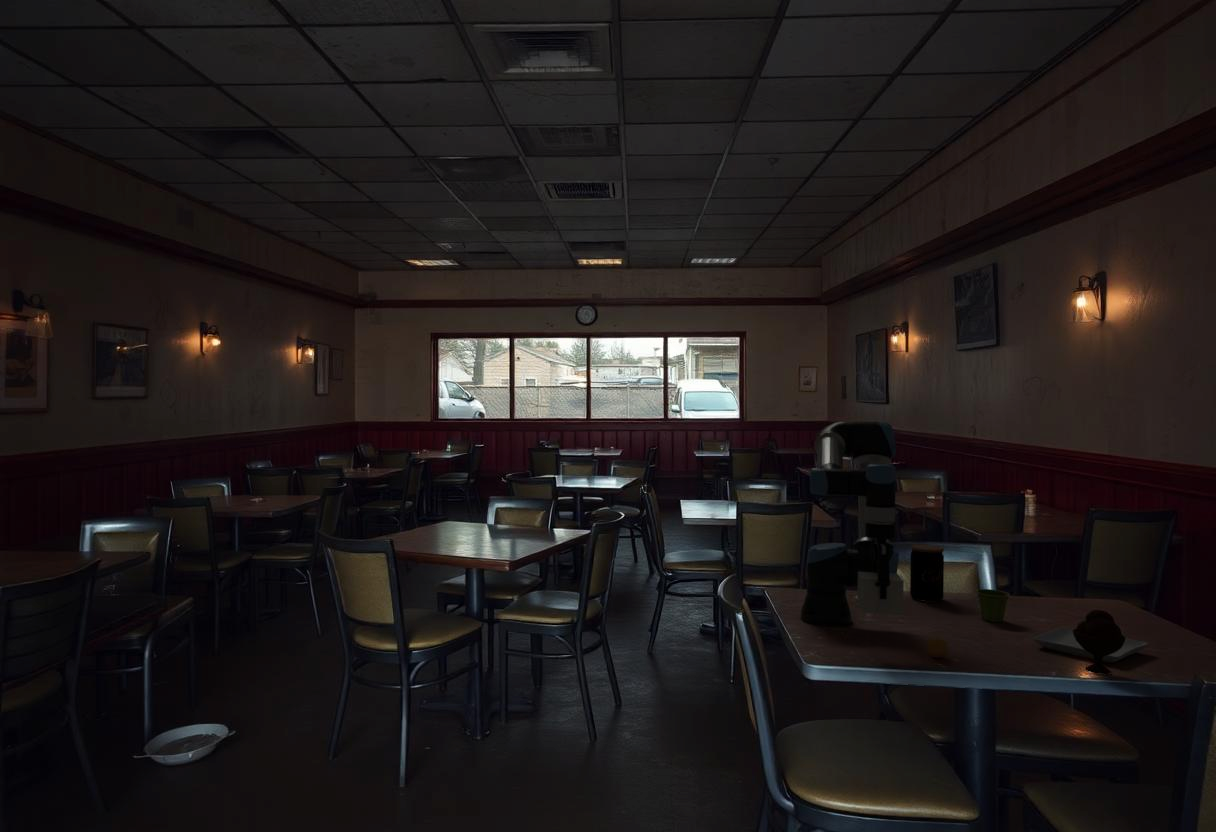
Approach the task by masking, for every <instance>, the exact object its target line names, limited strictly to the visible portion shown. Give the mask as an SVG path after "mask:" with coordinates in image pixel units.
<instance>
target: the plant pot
mask: <svg viewBox="0 0 1216 832" xmlns="http://www.w3.org/2000/svg"><path fill="white" fill-rule="evenodd" d="M975 593H977V597H978V601H979V602H978V603H979V609H980V617H981V620H983V621H988V622H990V621H991V623H1001V622H1002V621H1003V622H1004V619H1005V613H1006V607H1007V606H1006V605H1007V601H1008V600H1009V597H1010V596H1011V594H1010V593H1009V592H1006V591H1002V590H999V589H998V590H997V589H989V588H987V589H986V588H982V589H981V588H979V589H977V590H976V591H975Z"/></svg>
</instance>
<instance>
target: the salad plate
mask: <svg viewBox="0 0 1216 832" xmlns="http://www.w3.org/2000/svg"><path fill="white" fill-rule="evenodd" d="M1073 629H1076V628H1074V627H1069V626H1064V627H1063V626H1062V627H1060V628H1056V629H1053V630H1051V631H1047V632H1044V633H1042V634H1039V635H1036V636H1034V637H1033V636H1032V641H1034V643H1036V644H1038V645H1039V646H1041V647H1043V648H1045V649H1048V650H1051V649H1052V651H1054V650H1056V651H1055V652H1059V651H1061V652H1060V653H1063V652H1065V653H1064V654H1067V653H1069V654H1068V655H1071V654H1073V655H1072V656H1075V655H1078V656H1077V657H1080V656H1082V657H1081V658H1084V657H1087V658H1086V659H1088V658H1091V659H1090V660H1093V659H1094V656H1093V654H1091V653H1089V652H1087V651H1086V650H1085V649H1083V648H1082V647H1081V645H1080V644H1079V643H1078V642H1077V641H1076V639H1075V637H1074V634H1073ZM1147 646H1149V643H1148V642H1147V641H1140V640H1135V639H1130V638H1127V637H1125V642H1124V644H1123V646H1122V648H1121V649H1119V650H1118V651H1116V652H1115V653H1112V654H1110V655H1107V656H1104V657H1103V659H1102V661H1105V662H1104V663H1115V662H1118V661H1119V660H1121V659H1124V658H1126V657H1128V656H1130V655H1131V656H1132V655H1133V654H1136V653H1138V652H1140V651H1142V650H1144V649H1145V648H1147Z"/></svg>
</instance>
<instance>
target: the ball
mask: <svg viewBox="0 0 1216 832" xmlns="http://www.w3.org/2000/svg"><path fill="white" fill-rule="evenodd" d="M926 648H927V651H928V653H929V655H931V657H934V658H936V657H937V658H938V659H940V658H944V657H945V656H947V654H948V652H949V647H948V643H947V642H946V641H945V640H943V639H942V638H940V637H934V638H933V637H932V638H931V639H930V640H929V641H928V643H927V647H926Z"/></svg>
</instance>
